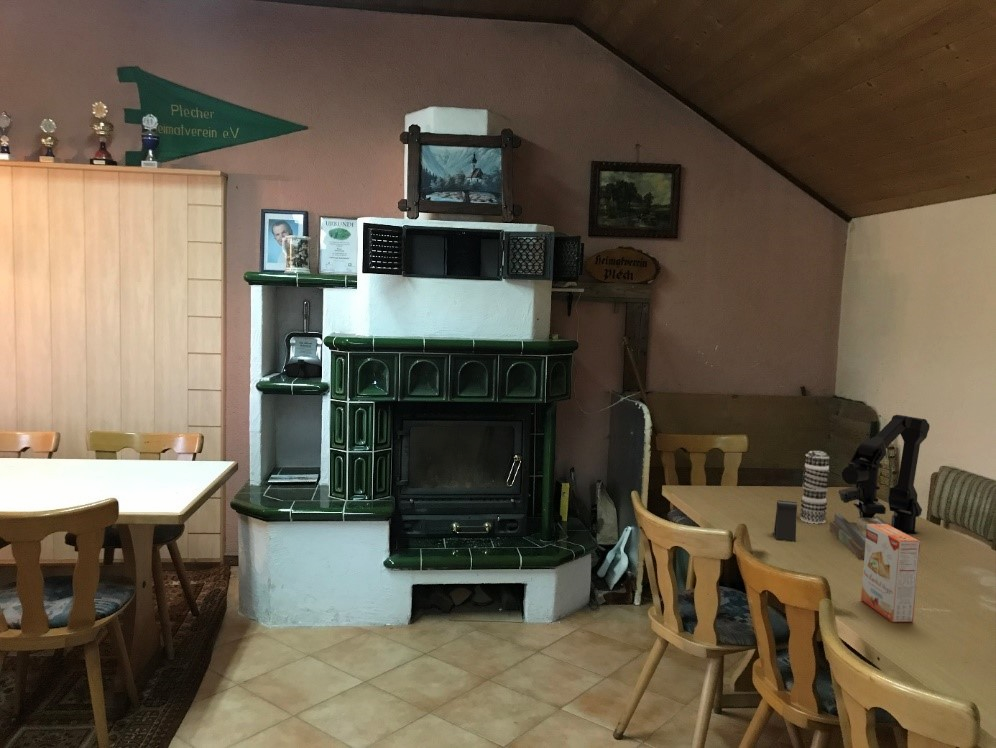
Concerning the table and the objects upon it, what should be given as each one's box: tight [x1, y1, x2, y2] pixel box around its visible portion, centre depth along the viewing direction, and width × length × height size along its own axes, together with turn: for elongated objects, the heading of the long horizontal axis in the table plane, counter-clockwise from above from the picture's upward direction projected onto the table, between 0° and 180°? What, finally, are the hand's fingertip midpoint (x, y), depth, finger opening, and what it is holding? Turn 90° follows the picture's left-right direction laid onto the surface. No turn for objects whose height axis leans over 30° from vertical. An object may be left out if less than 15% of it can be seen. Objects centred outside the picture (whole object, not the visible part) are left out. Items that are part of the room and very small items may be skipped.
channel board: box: [829, 513, 890, 560], centre depth 247 cm, size 16×31×6 cm, turn 173°
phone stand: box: [773, 499, 798, 543], centre depth 253 cm, size 9×6×12 cm, turn 164°
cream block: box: [856, 516, 883, 537], centre depth 248 cm, size 6×6×5 cm
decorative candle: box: [799, 450, 831, 525], centre depth 273 cm, size 9×9×25 cm
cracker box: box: [860, 523, 921, 623], centre depth 192 cm, size 14×6×21 cm, turn 5°
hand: (863, 527), depth 253 cm, fingers closed
